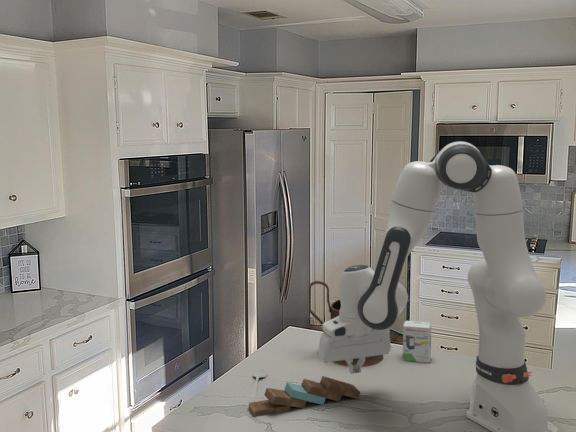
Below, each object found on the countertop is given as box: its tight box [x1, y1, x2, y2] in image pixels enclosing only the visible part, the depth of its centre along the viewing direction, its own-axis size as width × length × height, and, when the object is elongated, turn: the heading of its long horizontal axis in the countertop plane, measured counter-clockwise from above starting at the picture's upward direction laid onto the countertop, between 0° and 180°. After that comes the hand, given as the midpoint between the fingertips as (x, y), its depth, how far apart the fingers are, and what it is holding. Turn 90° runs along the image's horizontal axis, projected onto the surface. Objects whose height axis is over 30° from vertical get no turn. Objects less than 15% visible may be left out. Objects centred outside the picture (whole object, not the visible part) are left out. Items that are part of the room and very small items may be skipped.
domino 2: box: [263, 387, 308, 409], centre depth 153 cm, size 2×5×10 cm
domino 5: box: [319, 375, 361, 400], centre depth 159 cm, size 2×5×10 cm
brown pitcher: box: [308, 280, 384, 368], centre depth 187 cm, size 18×24×25 cm
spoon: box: [248, 367, 268, 399], centre depth 167 cm, size 4×21×2 cm, turn 173°
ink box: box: [402, 320, 432, 364], centre depth 184 cm, size 9×5×12 cm, turn 73°
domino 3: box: [283, 382, 327, 406], centre depth 155 cm, size 2×5×10 cm
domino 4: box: [300, 378, 343, 402], centre depth 157 cm, size 2×5×10 cm
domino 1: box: [248, 399, 292, 417], centre depth 153 cm, size 2×5×10 cm
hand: (355, 372), depth 159 cm, fingers closed
